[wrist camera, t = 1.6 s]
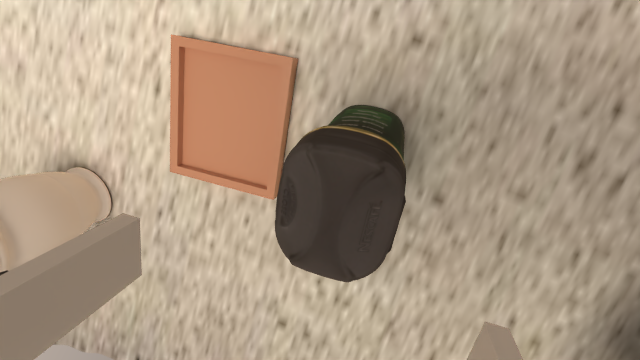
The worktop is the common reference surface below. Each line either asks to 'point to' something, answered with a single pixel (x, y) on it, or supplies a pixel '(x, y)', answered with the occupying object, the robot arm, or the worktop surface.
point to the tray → (229, 114)
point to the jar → (47, 212)
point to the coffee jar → (343, 194)
